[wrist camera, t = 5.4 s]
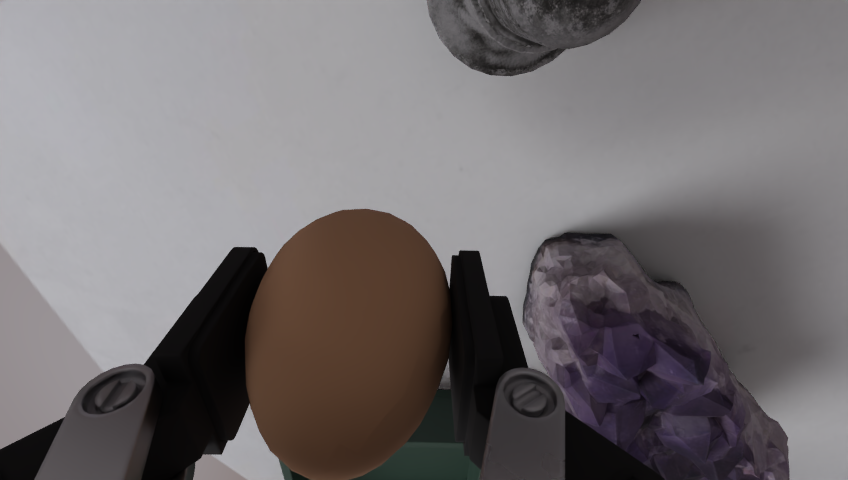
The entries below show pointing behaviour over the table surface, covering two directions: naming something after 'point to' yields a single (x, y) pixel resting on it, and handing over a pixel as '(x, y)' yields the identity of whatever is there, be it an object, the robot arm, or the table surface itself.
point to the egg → (347, 343)
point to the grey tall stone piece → (522, 29)
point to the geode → (644, 365)
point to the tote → (423, 451)
